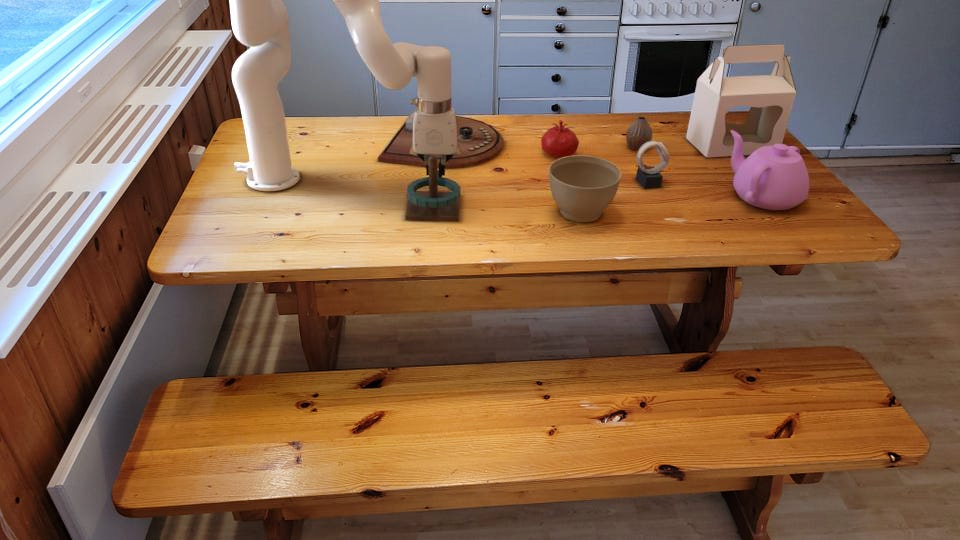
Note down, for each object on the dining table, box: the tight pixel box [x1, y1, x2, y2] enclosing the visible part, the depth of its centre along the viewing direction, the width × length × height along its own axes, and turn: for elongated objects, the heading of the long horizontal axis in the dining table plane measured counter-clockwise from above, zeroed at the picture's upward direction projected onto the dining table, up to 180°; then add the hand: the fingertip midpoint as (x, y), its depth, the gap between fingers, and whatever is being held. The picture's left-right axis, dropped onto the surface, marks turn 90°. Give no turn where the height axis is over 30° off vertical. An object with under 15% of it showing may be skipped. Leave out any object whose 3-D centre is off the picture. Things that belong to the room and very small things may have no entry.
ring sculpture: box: [635, 140, 671, 190], centre depth 175 cm, size 6×8×11 cm
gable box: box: [685, 43, 797, 159], centre depth 191 cm, size 22×13×28 cm, turn 101°
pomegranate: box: [540, 119, 580, 159], centre depth 189 cm, size 10×10×9 cm
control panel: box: [377, 109, 504, 170], centre depth 194 cm, size 31×5×30 cm
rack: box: [404, 155, 461, 222], centre depth 162 cm, size 12×12×13 cm
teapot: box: [730, 130, 810, 211], centre depth 171 cm, size 22×22×14 cm
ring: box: [406, 169, 462, 208], centre depth 164 cm, size 12×16×2 cm
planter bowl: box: [548, 154, 622, 223], centre depth 162 cm, size 16×16×11 cm
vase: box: [625, 115, 653, 152], centre depth 193 cm, size 7×7×9 cm
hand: (435, 177), depth 170 cm, fingers closed on ring, 1 cm apart
